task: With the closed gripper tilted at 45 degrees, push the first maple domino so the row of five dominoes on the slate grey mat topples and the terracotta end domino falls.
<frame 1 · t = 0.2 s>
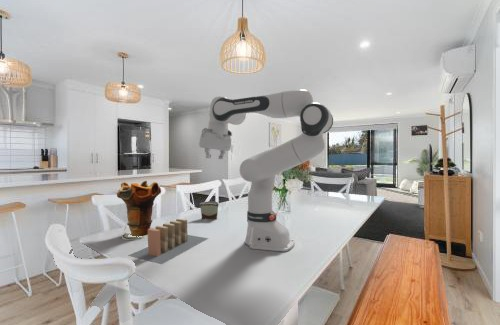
hand: (214, 158, 119), 38 cm above the table, tool pointing down, fingers open, 8 cm apart
food container: (210, 218, 153), on the table
domino 5: (154, 254, 96), point 1 cm above the table, touching mat
domino 3: (169, 247, 103), point 1 cm above the table, touching mat
domino 1: (182, 241, 111), point 1 cm above the table, touching mat
mat: (171, 248, 105), on the table
domino 2: (175, 244, 107), point 1 cm above the table, touching mat
domino 4: (162, 250, 100), point 1 cm above the table, touching mat
decorative vase: (140, 234, 124), on the table
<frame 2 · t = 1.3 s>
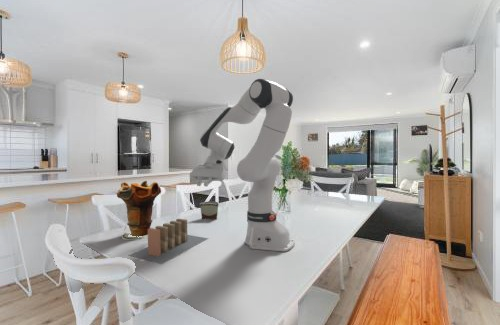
hand: (201, 185, 124), 24 cm above the table, tool tilted 45°, fingers open, 3 cm apart
nothing on the table moved.
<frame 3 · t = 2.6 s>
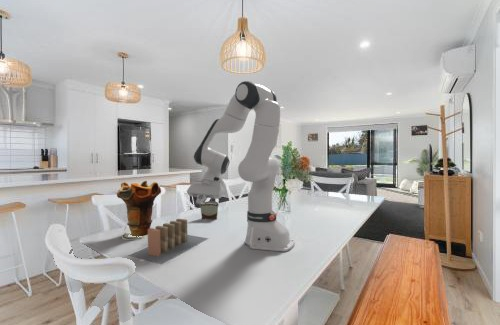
hand: (198, 203, 122), 16 cm above the table, tool tilted 45°, fingers closed
nothing on the table moved.
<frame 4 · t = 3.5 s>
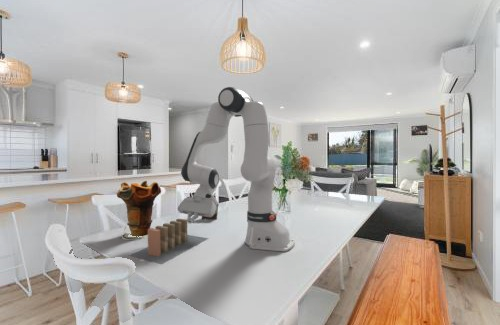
hand: (189, 222, 116), 8 cm above the table, tool tilted 45°, fingers closed
nothing on the table moved.
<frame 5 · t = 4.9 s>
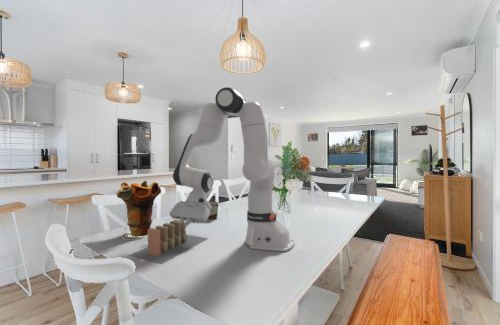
hand: (181, 227, 110), 7 cm above the table, tool tilted 45°, fingers closed
domino 1: (182, 240, 111), point 1 cm above the table, tilted 13°, touching mat
everything else where it was.
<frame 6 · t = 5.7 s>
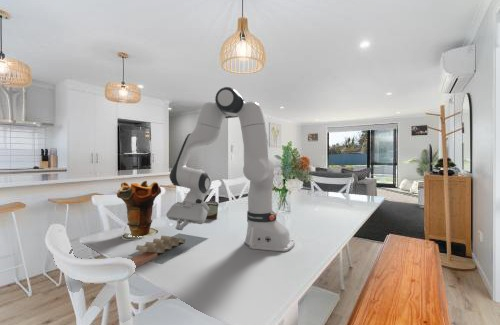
hand: (178, 229, 109), 7 cm above the table, tool tilted 45°, fingers closed
domino 5: (152, 253, 95), point 2 cm above the table, tilted 90°, touching domino 4, mat
domino 3: (167, 246, 103), point 2 cm above the table, tilted 66°, touching domino 2, domino 4, mat
domino 1: (180, 240, 110), point 2 cm above the table, tilted 67°, touching domino 2, mat
domino 2: (174, 243, 106), point 2 cm above the table, tilted 66°, touching domino 1, domino 3
domino 4: (160, 249, 99), point 2 cm above the table, tilted 66°, touching domino 3, domino 5
everything else where it was.
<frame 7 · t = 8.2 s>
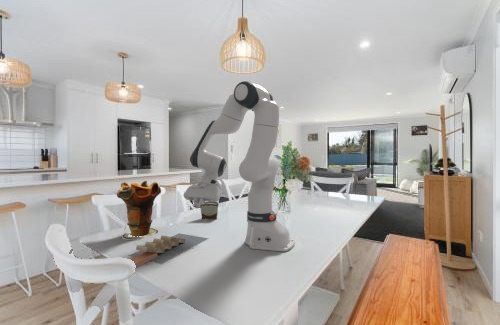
hand: (195, 207, 119), 15 cm above the table, tool tilted 45°, fingers closed
nothing on the table moved.
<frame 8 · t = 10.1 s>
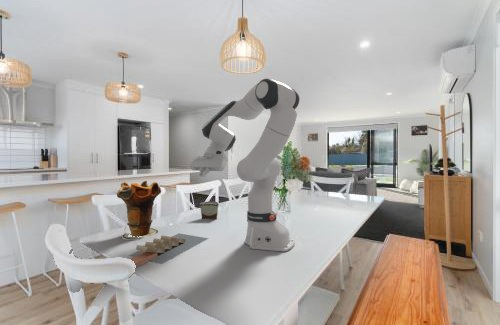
hand: (201, 175, 123), 29 cm above the table, tool tilted 45°, fingers closed
nothing on the table moved.
at the end: domino 5 tilted 90°; domino 3 tilted 66° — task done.
